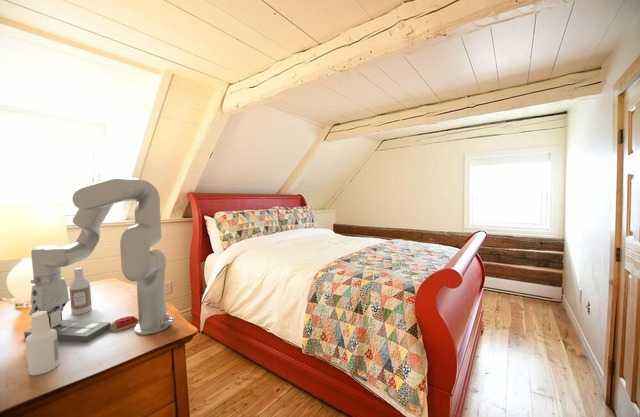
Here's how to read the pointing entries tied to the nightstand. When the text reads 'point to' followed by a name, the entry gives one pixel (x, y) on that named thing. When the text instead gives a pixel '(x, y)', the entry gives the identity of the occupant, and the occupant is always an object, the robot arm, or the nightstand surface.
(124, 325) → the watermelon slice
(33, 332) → the white bottle
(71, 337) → the mixing desk
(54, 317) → the fader knob
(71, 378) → the nightstand surface
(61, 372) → the nightstand surface
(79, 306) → the bath foam
